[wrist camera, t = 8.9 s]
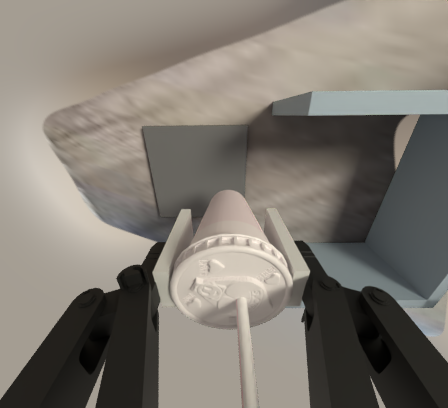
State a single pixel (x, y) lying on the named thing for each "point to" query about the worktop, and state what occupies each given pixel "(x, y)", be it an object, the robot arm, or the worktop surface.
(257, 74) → the worktop surface
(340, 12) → the worktop surface
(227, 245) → the smoothie
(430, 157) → the open frame
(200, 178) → the mat
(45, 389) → the robot arm
